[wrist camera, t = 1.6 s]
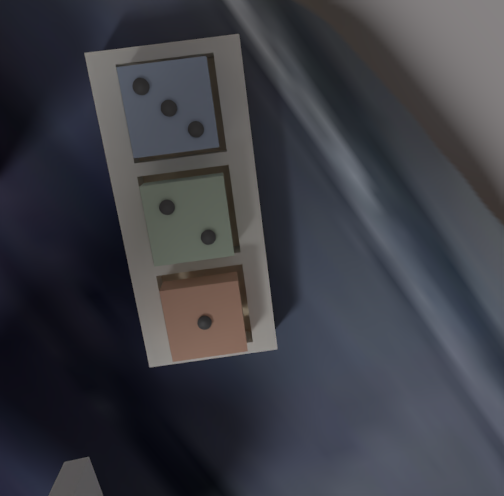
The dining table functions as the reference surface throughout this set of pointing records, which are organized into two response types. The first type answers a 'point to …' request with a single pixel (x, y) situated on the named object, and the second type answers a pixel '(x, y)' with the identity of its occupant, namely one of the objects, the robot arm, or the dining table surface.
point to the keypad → (180, 166)
